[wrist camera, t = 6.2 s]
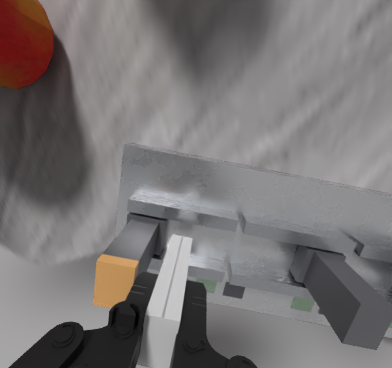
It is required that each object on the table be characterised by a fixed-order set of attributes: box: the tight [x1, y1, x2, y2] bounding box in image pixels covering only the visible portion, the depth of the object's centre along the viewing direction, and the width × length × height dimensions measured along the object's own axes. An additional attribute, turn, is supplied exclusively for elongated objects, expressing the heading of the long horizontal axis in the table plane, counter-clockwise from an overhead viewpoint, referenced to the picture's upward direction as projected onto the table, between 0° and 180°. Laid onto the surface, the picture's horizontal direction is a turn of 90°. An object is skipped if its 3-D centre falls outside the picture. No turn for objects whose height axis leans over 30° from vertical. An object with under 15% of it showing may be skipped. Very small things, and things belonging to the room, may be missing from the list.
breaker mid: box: [290, 245, 392, 350], centre depth 15 cm, size 3×3×6 cm
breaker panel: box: [115, 143, 392, 338], centre depth 18 cm, size 29×13×4 cm, turn 79°
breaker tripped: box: [93, 212, 168, 308], centre depth 14 cm, size 3×3×7 cm
